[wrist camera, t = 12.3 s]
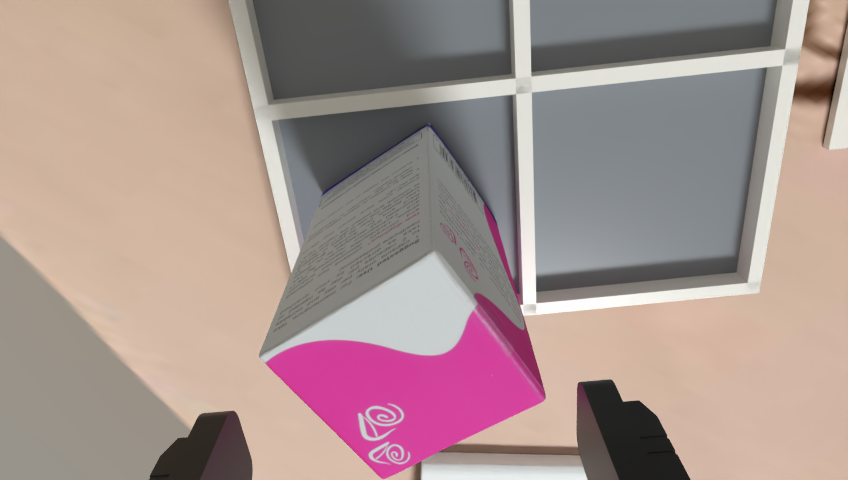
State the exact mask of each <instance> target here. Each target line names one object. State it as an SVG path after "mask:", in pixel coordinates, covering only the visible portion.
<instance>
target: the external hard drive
mask: <svg viewBox="0 0 848 480" xmlns="http://www.w3.org/2000/svg"><path fill="white" fill-rule="evenodd" d="M420 480H587V477H586V474H585V471H584V467H583V464H582V461H581V458H580V455H546V454H503V453H460V452H437V453H435V454H433V455H432V456H430V457H428V458H426V459H424V460H422V461H421V469H420Z"/></svg>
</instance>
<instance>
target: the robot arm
mask: <svg viewBox="0 0 848 480" xmlns="http://www.w3.org/2000/svg"><path fill="white" fill-rule="evenodd" d="M577 442H578V449H579V454H580V458H581V461H582V464H583V467H584V471H585V474H586V477H587V480H690V478H689V476H688V474H687V472H686V470H685V468H684V466H683V465H682V463H681V461H680V459H679V457H678V455H676V453H675V449H674V447H673V446H672V444H671V442H670V440H669V439H668V438H667V434H666V432H665V430H664V429H663V427H662V425H661V423H660V421H659V419H658V417H657V416H656V415H655V414H654V413H653V412H652V411H650V410H649V409H648V408H647V407H646V406H645V405H644V404H642V403H641V402H640V401H628V402H623V401H622V399H621V397H620V394H619V392H618V390H617V388H616V386H615V384H614V382H613V381H612V380H599V381H587V382H579V383H578V387H577ZM150 480H252V460H251V456H250V452H249V449H248V446H247V443H246V440H245V437H244V433H243V430H242V427H241V424H240V421H239V418H238V415H237V413H236V412H234V411H225V412H213V413H203V414H201V415H199V417H198V418H197V420H196V422H195V424H194V426H193V428H192V430H191V432H190V434H189V436H188V437H187V438H178V439H177V440H176V441H175V442H174V443H173V444H172V445H171V446H170V447H169V448H168V449H167V450H166V451H165V452H164V453H163V454H162V455H161V456H160V458H159V460H158V461H157V464H156V465H155V467H154V469H153V471H152V473H151V475H150Z"/></svg>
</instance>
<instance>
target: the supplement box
mask: <svg viewBox="0 0 848 480" xmlns="http://www.w3.org/2000/svg"><path fill="white" fill-rule="evenodd" d="M259 357H260V359H261V360H262V361H263V362H264V363H266V364H267V365H268V367H269V368H270V369H271V370H272V371H273V372H274V373H275V374H276V375H277V376H278V377H280V378H281V379H282V380H283V381H284V383H285V384H286V385H287V386H288V387H289V388H290V389H291V390H292V391H293V392H294V393H295V394H297V395H298V396H299V397H300V398H301V399H302V400H303V401H304V402H305V403H306V404H307V405H308V406H309V407H310V408H311V409H312V410H313V411H314V412H315V413H316V414H317V415H318V416H319V417H320V418H321V419H322V420H323V421H324V422H325V423H326V424H327V425H328V426H329V427H330V428H331V429H332V430H333V431H334V432H335V433H336V434H337V435H338V436H339V437H340V438H341V439H342V440H343V441H344V442H345V443H346V444H347V445H348V446H349V447H350V448H351V449H352V450H353V451H354V452H355V453H356V454H357V455H358V456H359V457H360V458H361V459H362V460H363V461H364V462H365V463H366V464H367V465H368V466H369V467H370V468H371V469H372V470H373V471H374V472H375V473H376V474H377V475H379V476H380V477H381V478H382V479H385V478H388V477H390V476H392V475H394V474H397V473H399V472H401V471H403V470H405V469H406V468H409V467H411V466H413V465H415V464H417V463H419V462H420V461H422V460H424V459H426V458H428V457H430V456H432V455H433V454H435V453H437V452H439V451H441V450H443V449H445V448H447V447H449V446H451V445H453V444H455V443H457V442H459V441H461V440H463V439H466V438H468V437H470V436H472V435H474V434H476V433H478V432H480V431H482V430H484V429H486V428H489V427H491V426H493V425H495V424H497V423H499V422H501V421H503V420H506V419H508V418H510V417H512V416H514V415H516V414H518V413H520V412H522V411H525V410H527V409H529V408H531V407H533V406H535V405H537V404H539V403H541V402H543V401H544V400H545V399H546V397H545V391H544V387H543V384H542V380H541V376H540V373H539V369H538V366H537V362H536V359H535V356H534V352H533V349H532V345H531V341H530V338H529V334H528V331H527V328H526V324H525V320H524V317H523V313H522V310H521V307H520V303H519V300H518V296H517V293H516V289H515V286H514V283H513V279H512V275H511V272H510V268H509V265H508V261H507V257H506V254H505V250H504V247H503V243H502V240H501V237H500V233H499V229H498V225H497V222H496V220H495V217H494V216H493V214H492V213H491V211H490V209H489V208H488V206H487V205H486V203H485V202H484V200H483V199H482V197H481V196H480V194H479V193H478V191H477V190H476V188H475V187H474V185H473V184H472V182H471V181H470V179H469V178H468V176H467V175H466V173H465V172H464V171H463V169H462V168H461V166H460V165H459V163H458V162H457V160H456V159H455V157H454V156H453V154H452V153H451V152H450V150H449V149H448V147H447V146H446V144H445V143H444V142H443V140H442V139H441V137H440V136H439V135H438V133H437V132H436V131H435V129H434V128H433V126H432V125H431V123H427V124H426V125H424V126H422V127H421V128H419V129H417V130H416V131H414V132H413V133H411V134H410V135H409V136H407V137H405V138H404V139H403V140H401V141H400V142H398V143H397V144H395V145H394V146H392V147H391V148H389V149H388V150H386V151H385V152H383V153H382V154H380V155H379V156H377V157H376V158H374V159H373V160H371V161H369V162H368V163H367V164H365V165H363V166H362V167H360V168H359V169H357V170H356V171H354V172H352V173H351V174H349V175H348V176H346V177H345V178H344V179H342V180H340V181H339V182H337V183H336V184H334V185H333V186H331V187H330V188H328V189H327V190H326V191H324V192H323V194H322V196H321V199H320V201H319V204H318V206H317V209H316V212H315V214H314V217H313V220H312V222H311V225H310V227H309V230H308V233H307V235H306V238H305V240H304V242H303V244H302V247H301V250H300V253H299V255H298V258H297V260H296V263H295V265H294V268H293V270H292V273H291V275H290V278H289V280H288V283H287V285H286V288H285V291H284V293H283V296H282V298H281V301H280V303H279V306H278V308H277V311H276V313H275V316H274V318H273V321H272V323H271V326H270V329H269V331H268V334H267V336H266V339H265V341H264V344H263V346H262V349H261V351H260V353H259Z"/></svg>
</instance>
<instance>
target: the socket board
mask: <svg viewBox="0 0 848 480" xmlns="http://www.w3.org/2000/svg"><path fill="white" fill-rule="evenodd" d="M228 1H229V5H230V10H231V14H232V18H233V23H234V27H235V31H236V36H237V40H238V44H239V49H240V53H241V57H242V62H243V66H244V70H245V75H246V79H247V83H248V88H249V92H250V96H251V101H252V105H253V109H254V114H255V118H256V122H257V127H258V131H259V135H260V140H261V144H262V148H263V153H264V157H265V161H266V166H267V170H268V174H269V179H270V183H271V187H272V192H273V196H274V200H275V205H276V209H277V213H278V218H279V222H280V226H281V231H282V235H283V239H284V244H285V248H286V252H287V257H288V261H289V265H290V270H291V273H292V270H293V268H294V265H295V263H296V260H297V258H298V255H299V253H300V250H301V247H302V244H303V242H304V240H305V238H306V235H307V233H308V230H309V227H310V225H311V222H312V220H313V217H314V214H315V212H316V209H317V206H318V204H319V201H320V199H321V196H322V194H323V192H324V191H326V190H327V189H328V188H330V187H331V186H333V185H334V184H336V183H337V182H339V181H340V180H342V179H344V178H345V177H346V176H348V175H349V174H351V173H352V172H354V171H356V170H357V169H359V168H360V167H362V166H363V165H365V164H367V163H368V162H369V161H371V160H373V159H374V158H376V157H377V156H379V155H380V154H382V153H383V152H385V151H386V150H388V149H389V148H391V147H392V146H394V145H395V144H397V143H398V142H400V141H401V140H403V139H404V138H405V137H407V136H409V135H410V134H411V133H413V132H414V131H416V130H417V129H419V128H421V127H422V126H424V125H426V124H427V123H431V125H432V126H433V128H434V129H435V131H436V132H437V133H438V135H439V136H440V137H441V139H442V140H443V142H444V143H445V144H446V146H447V147H448V149H449V150H450V152H451V153H452V154H453V156H454V157H455V159H456V160H457V162H458V163H459V165H460V166H461V168H462V169H463V171H464V172H465V173H466V175H467V176H468V178H469V179H470V181H471V182H472V184H473V185H474V187H475V188H476V190H477V191H478V193H479V194H480V196H481V197H482V199H483V200H484V202H485V203H486V205H487V206H488V208H489V209H490V211H491V213H492V214H493V216H494V217H495V220H496V222H497V225H498V229H499V233H500V237H501V240H502V243H503V247H504V250H505V254H506V257H507V261H508V265H509V268H510V272H511V275H512V279H513V283H514V286H515V289H516V293H517V296H518V300H519V303H520V307H521V310H522V313H523V316H526V315H537V314H547V313H557V312H568V311H578V310H588V309H599V308H609V307H619V306H629V305H640V304H650V303H660V302H671V301H681V300H691V299H702V298H712V297H722V296H733V295H743V294H753V293H759V291H760V285H761V279H762V273H763V267H764V262H765V256H766V250H767V244H768V238H769V232H770V227H771V221H772V215H773V209H774V203H775V198H776V192H777V186H778V180H779V174H780V168H781V163H782V157H783V151H784V145H785V139H786V134H787V128H788V122H789V116H790V110H791V105H792V99H793V93H794V87H795V81H796V75H797V70H798V64H799V58H800V52H801V46H802V41H803V35H804V29H805V23H806V17H807V12H808V6H809V0H228Z"/></svg>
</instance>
